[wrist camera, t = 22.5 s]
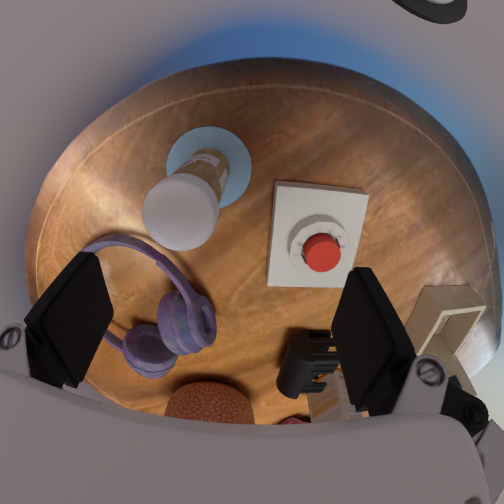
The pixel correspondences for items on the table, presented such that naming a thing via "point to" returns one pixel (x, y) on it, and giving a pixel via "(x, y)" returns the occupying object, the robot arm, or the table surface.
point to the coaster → (224, 144)
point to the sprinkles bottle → (187, 201)
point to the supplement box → (332, 401)
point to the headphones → (163, 318)
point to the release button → (322, 253)
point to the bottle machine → (455, 331)
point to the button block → (313, 231)
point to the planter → (210, 404)
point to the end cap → (306, 363)
